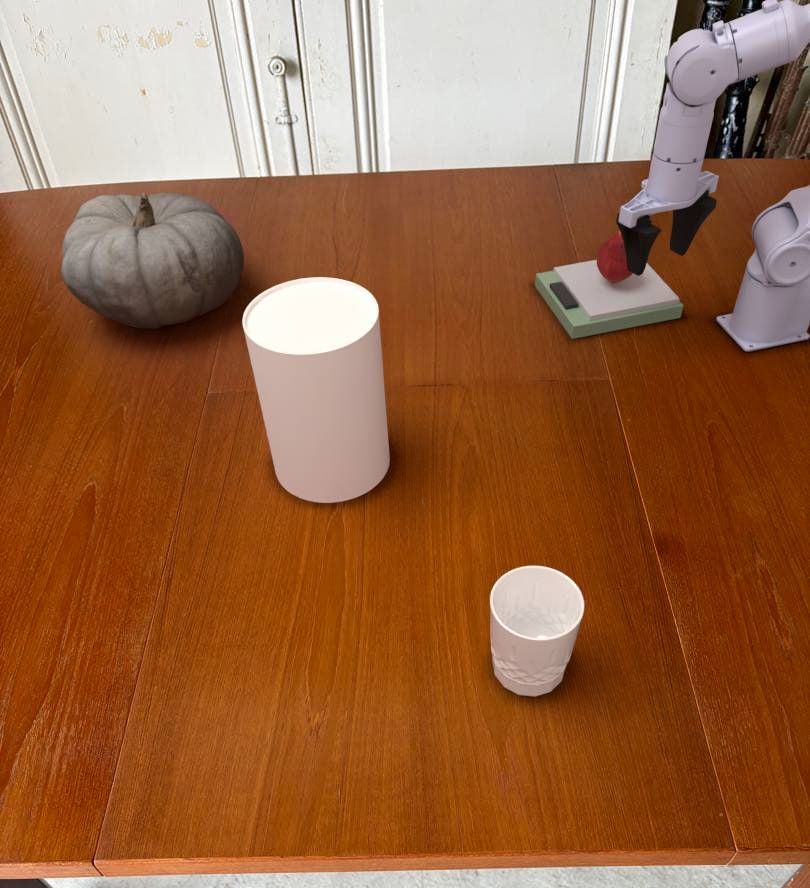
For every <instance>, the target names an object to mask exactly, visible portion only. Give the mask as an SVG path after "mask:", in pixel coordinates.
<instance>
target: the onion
mask: <svg viewBox="0 0 810 888" xmlns="http://www.w3.org/2000/svg"><path fill="white" fill-rule="evenodd" d="M596 260H597V267H598V269H599V271H600V273H601V275H602V276H603V277H604V278H606V279H607V280H609V281H610V282H612V283H617V282H620V281H623V280H625V279H626V278H628V277H630V276H631V275H632V274H633V273H632V272H630V271H628V270H627V261H626V251H625V246H624V241H623V238H622V235H621V232H620V230H618V232H617V233H615V234H612V235H610V236H608V237H607V238H606V239H605V240H604V241H603V242H602V243H601V244H600V246H599V248H598V250H597V254H596Z"/></svg>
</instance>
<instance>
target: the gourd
mask: <svg viewBox="0 0 810 888" xmlns="http://www.w3.org/2000/svg"><path fill="white" fill-rule="evenodd" d="M61 252H62V261H61V267H60V270H61V271H60V273H61V277H62V280H63V282H64V285H65V286H66V287H67V289H68V290H69V292H70V293H71V294H72V295H73V296H74V297H75V298H76V299H77V300H78V301H79V302H80V303H81V304H82V305H84V306H85V307H87V308H89V309H91V310H92V311H94V312H95V313H96V314H98V315H99V316H102V317H104V318H105V319H108V320H110V321H111V320H112V321H115V322H117V323H120V324H122V325H125V326H129V327H133V328H136V329H151V330H152V329H153V330H155V329H159V328H161V327H163V326H169V325H176V324H183V323H186V322H189V321H190V320H192V319H194V318H196V317H199V316H204V315H205V314H207V313H208V312H210V311H213V310H216V309H218V308H219V307H220V306H222V305H223V304H224V303H225V302H226V301H227V300H228V299H229V298H230V297H231V295H232V294H233V293H234V291H235V290H236V288H237V286H238V284H239V281H240V279H241V276H242V273H243V270H244V266H245V265H244V262H245V261H244V260H245V255H244V248H243V244H242V242H241V239H240V237H239V235H238V233H237V231H236V230H235V228H234V227H233V226H232V225H231V224H230V223H229V222H228V221H226V219H225V218H224V216H223V215H222V214H221V213H220V212H219V210H217V209H216V208H214V207H213V206H211V205H210V204H208V203H206V202H205V201H203V200H202V199H199V198H198V197H195V196H188V195H185V194H183V193H180V192H157V193H153V194H150V195H147V194H146V192H142V193H141V195H130V194H125V193H121V194H117V195H112V194H102V195H98V196H96V197H94V198H92V199H89V200H88V201H85V202H84V203H82V204H81V206H80V207H79V209H78V211H77V213H76V215H75V216H74V219H73V220H72V223H71V225H70V226H69V227H68V229H67V230H66V232H65V235H64V237H63V241H62V249H61Z"/></svg>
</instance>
